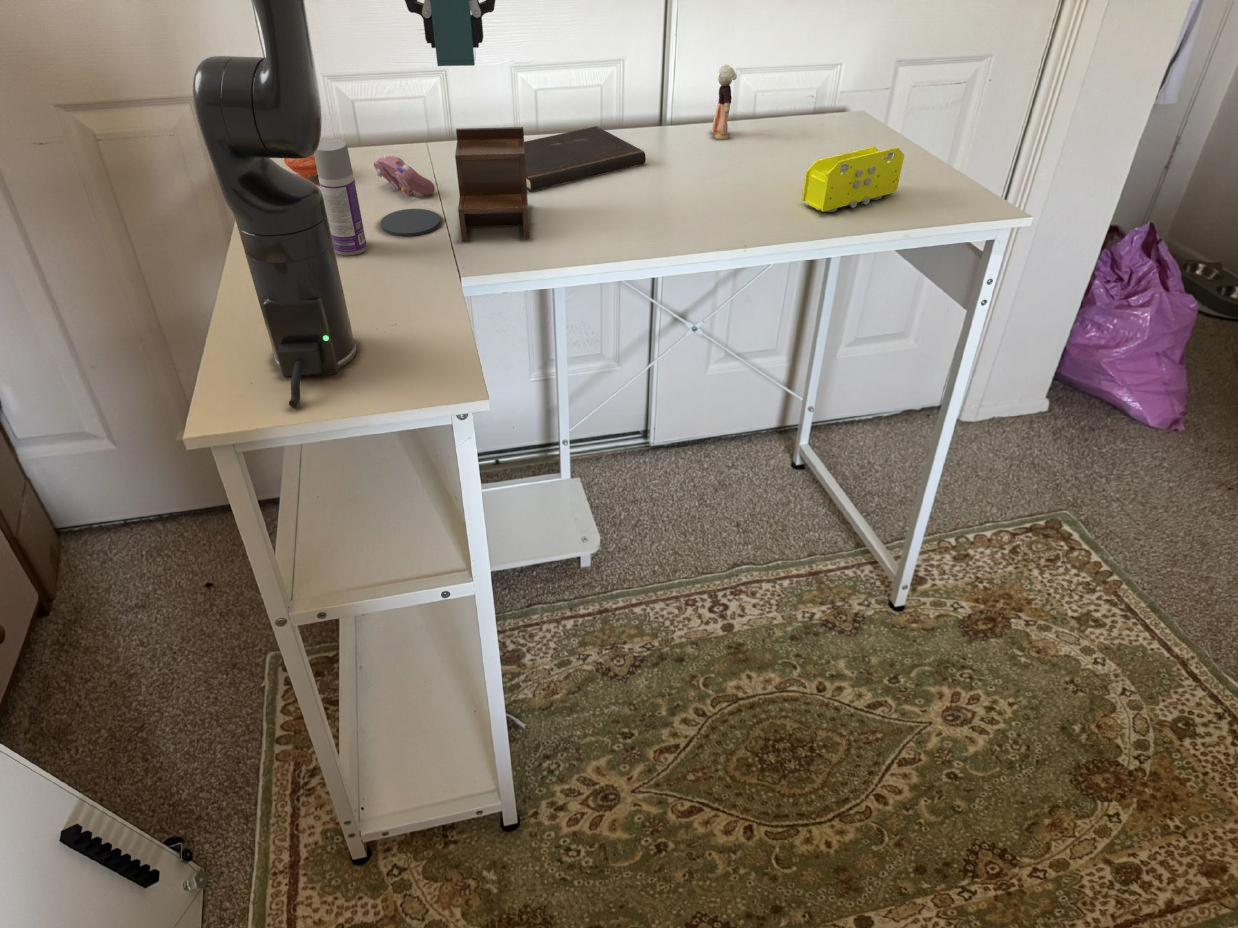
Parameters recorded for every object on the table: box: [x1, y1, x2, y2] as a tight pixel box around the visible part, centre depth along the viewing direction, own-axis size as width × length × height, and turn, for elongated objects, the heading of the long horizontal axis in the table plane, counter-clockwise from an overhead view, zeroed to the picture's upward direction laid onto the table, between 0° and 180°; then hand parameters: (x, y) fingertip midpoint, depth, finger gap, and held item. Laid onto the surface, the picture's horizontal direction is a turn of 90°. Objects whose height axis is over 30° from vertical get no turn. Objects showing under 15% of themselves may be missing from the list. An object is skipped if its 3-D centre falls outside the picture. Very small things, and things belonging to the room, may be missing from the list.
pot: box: [283, 154, 318, 180], centre depth 145 cm, size 8×8×7 cm
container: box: [314, 138, 368, 256], centre depth 121 cm, size 5×5×15 cm
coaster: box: [380, 208, 442, 237], centre depth 133 cm, size 9×9×1 cm
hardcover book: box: [524, 125, 647, 192], centre depth 152 cm, size 16×23×2 cm
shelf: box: [454, 126, 530, 242], centre depth 129 cm, size 12×10×12 cm
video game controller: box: [373, 154, 436, 196], centre depth 141 cm, size 10×5×7 cm, turn 45°
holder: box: [430, 0, 477, 67], centre depth 116 cm, size 5×5×10 cm
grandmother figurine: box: [710, 64, 738, 140], centre depth 160 cm, size 8×4×13 cm, turn 10°
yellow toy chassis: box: [801, 146, 905, 213], centre depth 138 cm, size 16×6×8 cm, turn 121°
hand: (455, 46), depth 118 cm, fingers closed on holder, 5 cm apart
